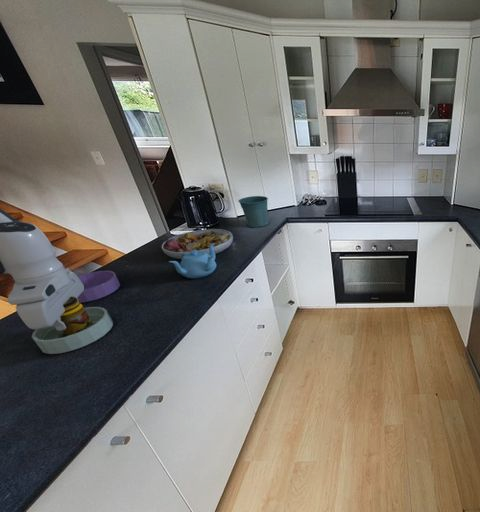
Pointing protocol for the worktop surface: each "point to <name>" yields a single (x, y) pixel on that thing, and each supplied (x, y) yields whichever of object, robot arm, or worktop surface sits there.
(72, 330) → the condiment
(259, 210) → the flower pot
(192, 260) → the teapot
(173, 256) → the bowl
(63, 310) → the robot arm
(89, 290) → the lavender bowl
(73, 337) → the celadon bowl
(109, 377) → the worktop surface
